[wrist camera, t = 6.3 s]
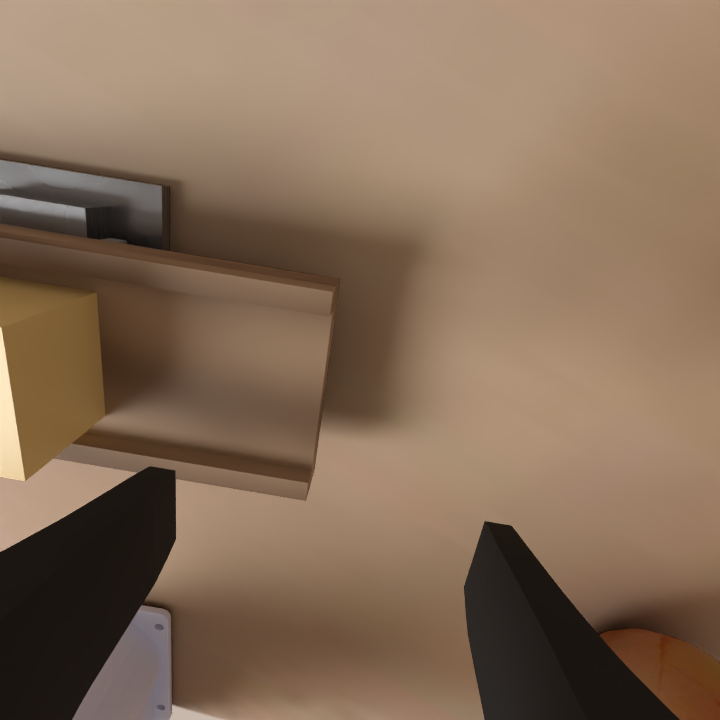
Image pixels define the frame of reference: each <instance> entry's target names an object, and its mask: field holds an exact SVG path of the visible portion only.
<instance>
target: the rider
mask: <svg viewBox="0 0 720 720" xmlns="http://www.w3.org/2000/svg"><path fill="white" fill-rule="evenodd" d="M104 417H105V403H104V389H103V375H102V360H101V346H100V332H99V318H98V303H97V292H93V291H87V290H81V289H75V288H69V287H63V286H57V285H50V284H44V283H38V282H32V281H26V280H20V279H14V278H8V277H2V276H0V477H4V478H10V479H16V480H22V481H26V480H27V479H28V478H30V477H31V476H32V475H33V474H35V473H36V472H37V471H38V470H40V469H41V468H42V467H43V466H44V465H46V464H47V463H48V462H49V461H51V460H52V459H53V458H54V457H56V456H57V455H58V454H59V453H60V452H62V451H63V450H64V449H65V448H67V447H68V446H69V445H70V444H72V443H73V442H74V441H75V440H76V439H78V438H79V437H80V436H81V435H83V434H84V433H85V432H86V431H88V430H89V429H90V428H91V427H92V426H94V425H95V424H96V423H97V422H99V421H100V420H101V419H102V418H104Z"/></svg>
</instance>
